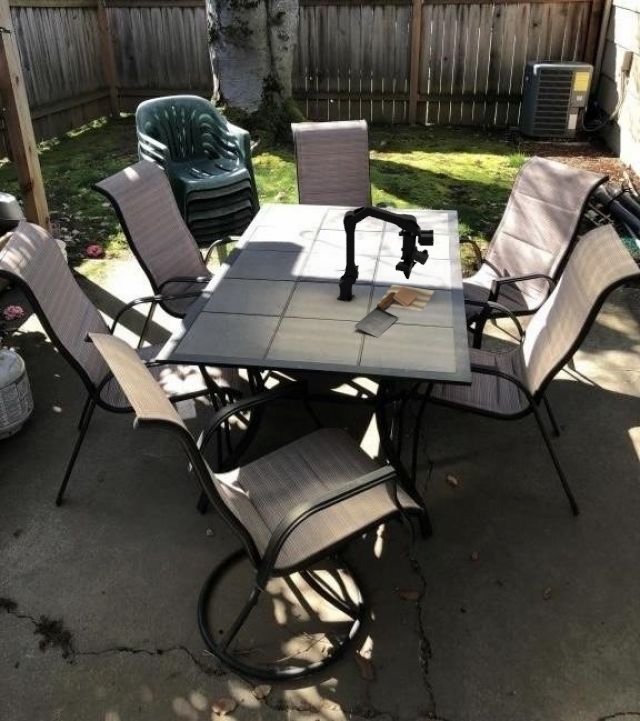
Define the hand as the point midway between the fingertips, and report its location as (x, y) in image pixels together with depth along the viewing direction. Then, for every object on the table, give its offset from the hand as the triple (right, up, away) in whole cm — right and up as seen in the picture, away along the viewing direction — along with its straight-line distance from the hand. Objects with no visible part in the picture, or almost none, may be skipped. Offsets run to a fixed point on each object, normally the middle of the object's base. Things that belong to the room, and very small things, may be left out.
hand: (407, 278), depth 289 cm
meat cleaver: (-11, -17, -10) cm, 23 cm away
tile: (+2, -6, +4) cm, 7 cm away
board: (0, -9, +6) cm, 10 cm away
